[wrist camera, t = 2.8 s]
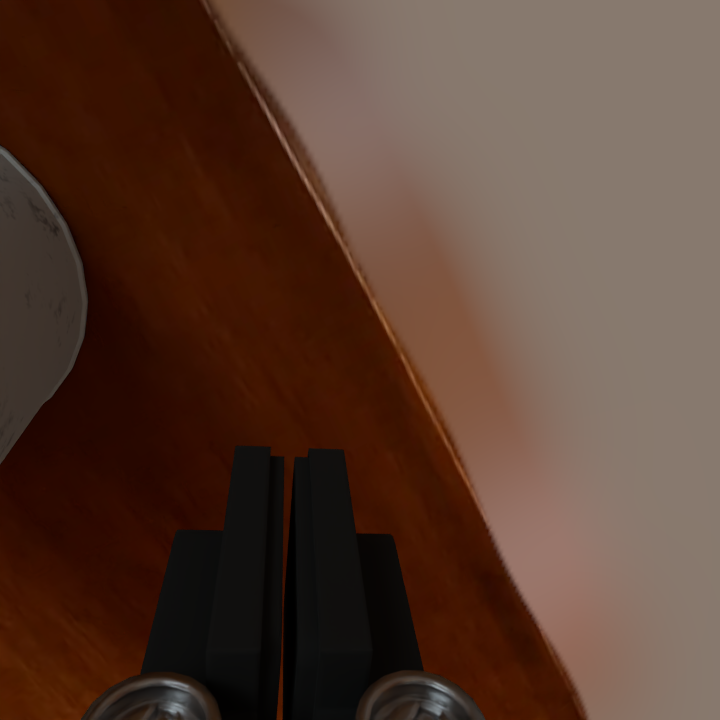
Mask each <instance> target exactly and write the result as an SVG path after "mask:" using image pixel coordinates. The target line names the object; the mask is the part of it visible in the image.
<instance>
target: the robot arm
mask: <svg viewBox="0 0 720 720" xmlns="http://www.w3.org/2000/svg"><path fill="white" fill-rule="evenodd" d="M270 451H271V447H259V446H236V447H235V453H234V460H233V467H232V474H231V481H230V488H229V495H228V502H227V509H226V516H225V523H224V530H223V531H218V530H177V531H176V534H175V537H174V540H173V544H172V548H171V552H170V556H169V560H168V564H167V568H166V572H165V576H164V581H163V585H162V589H161V593H160V597H159V601H158V605H157V609H156V613H155V617H154V621H153V625H152V629H151V633H150V637H149V641H148V645H147V649H146V653H145V657H144V661H143V665H142V669H141V673H140V675H137V676H133V677H130V678H128V679H126V680H124V681H122V682H120V683H118V684H116V685H114V686H112V687H110V688H109V689H108V690H107V691H105V692H104V693H103V694H102V695H101V696H100V697H98V698H97V699H96V700H95V701H94V702H93V703H92V704H91V705H90V707H89V708H88V710H87V711H86V713H85V714H84V716H83V717H82V718H81V720H276V718H277V704H278V691H279V678H280V663H281V641H282V578H283V500H284V457H279V456H270ZM283 720H485V718H484V716H483V714H482V713H481V711H480V710H479V708H478V706H477V705H476V703H475V702H474V700H473V699H472V698H471V697H470V696H469V695H468V694H467V693H466V692H465V691H463V690H462V689H461V688H460V687H459V686H458V685H457V684H455V683H453V682H451V681H449V680H447V679H445V678H444V677H442V676H440V675H436V674H432V673H428V672H425V671H424V670H423V666H422V661H421V657H420V652H419V648H418V643H417V639H416V635H415V630H414V626H413V621H412V617H411V612H410V608H409V603H408V599H407V595H406V590H405V586H404V581H403V577H402V572H401V568H400V564H399V559H398V555H397V550H396V546H395V542H394V539H393V536H392V535H391V534H356V530H355V523H354V517H353V510H352V503H351V496H350V489H349V482H348V475H347V469H346V462H345V455H344V450H338V449H312V448H309V450H308V458H307V457H295V461H294V473H293V486H292V500H291V513H290V527H289V540H288V554H287V567H286V580H285V595H284V633H283Z"/></svg>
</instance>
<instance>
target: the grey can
mask: <svg viewBox="0 0 720 720" xmlns="http://www.w3.org/2000/svg"><path fill="white" fill-rule="evenodd" d="M87 307H88V296H87V290H86V283H85V277H84V270H83V263H82V260H81V258H80V255H79V253H78V250H77V248H76V245H75V243H74V240H73V238H72V235H71V232H70V230H69V227H68V225H67V223H66V221H65V220H64V218H63V217H62V215H61V214H60V212H59V211H58V209H57V208H56V206H55V205H54V203H53V202H52V200H51V198H50V197H49V195H48V194H47V192H46V191H45V189H44V188H43V186H42V185H41V184H40V183H39V182H38V181H37V180H36V179H35V178H34V177H33V176H32V175H31V174H30V173H29V172H28V171H27V170H26V169H25V168H24V167H23V166H22V165H21V164H20V163H19V162H18V160H17V159H16V158H15V157H14V156H13V155H12V154H11V153H10V152H9V151H8V150H6V149H5V148H3V147H2V146H1V145H0V464H1V463H2V461H3V460H4V458H5V457H6V455H7V454H8V453H9V451H10V450H11V448H12V447H13V446H14V444H15V443H16V441H17V440H18V438H19V437H20V436H21V434H22V433H23V431H24V430H25V429H26V427H27V426H28V424H29V423H30V422H31V420H32V419H33V417H34V416H35V414H36V413H37V412H38V410H39V409H40V407H41V406H42V405H43V404H44V403H45V402H46V401H47V400H49V399H50V398H51V397H52V396H53V394H54V393H55V392H56V390H57V389H58V387H59V386H60V385H61V383H62V382H63V381H64V379H65V378H66V377H67V375H68V374H69V372H70V371H71V370H72V368H73V366H74V363H75V360H76V358H77V355H78V353H79V350H80V347H81V345H82V342H83V339H84V337H85V328H86V318H87Z"/></svg>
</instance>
